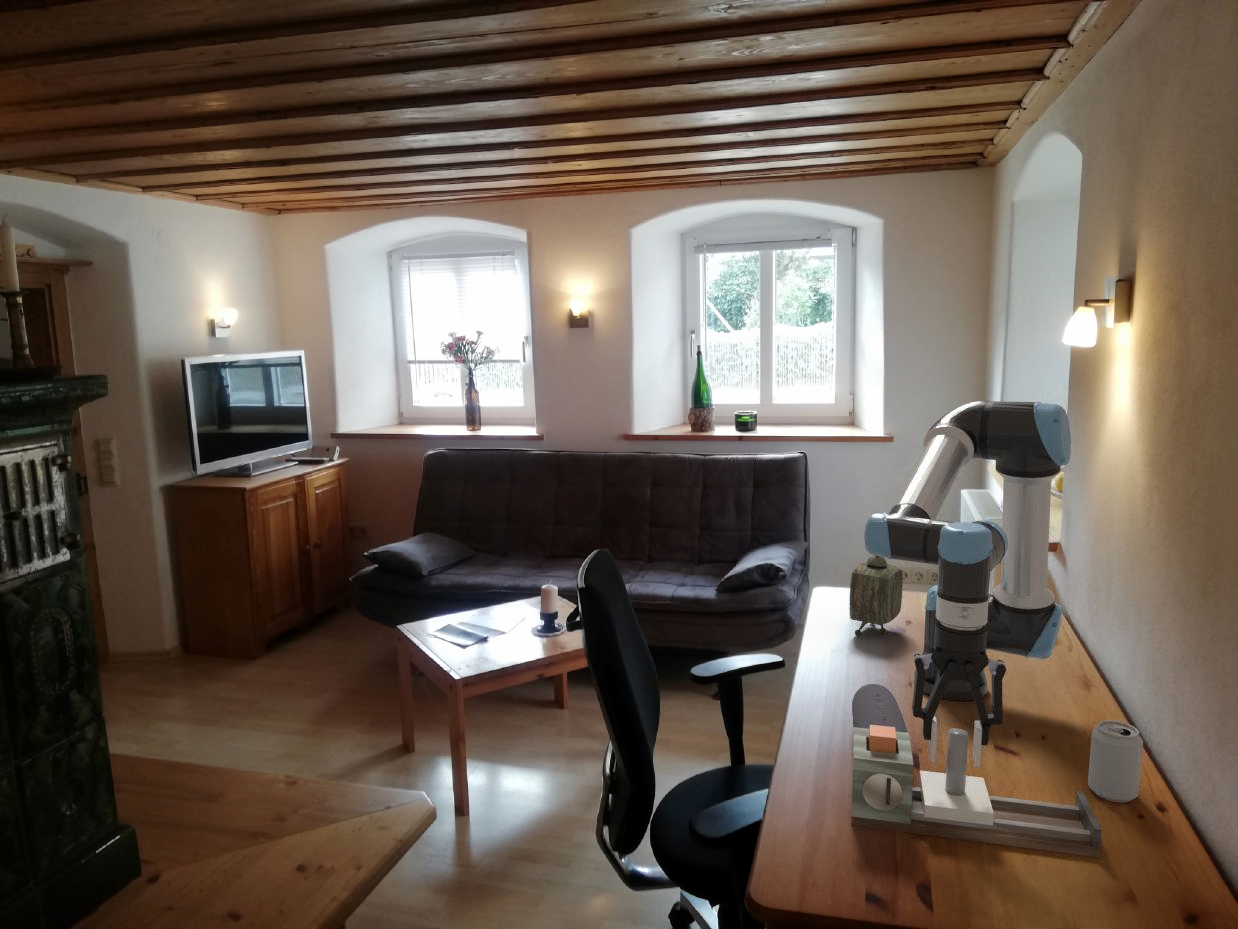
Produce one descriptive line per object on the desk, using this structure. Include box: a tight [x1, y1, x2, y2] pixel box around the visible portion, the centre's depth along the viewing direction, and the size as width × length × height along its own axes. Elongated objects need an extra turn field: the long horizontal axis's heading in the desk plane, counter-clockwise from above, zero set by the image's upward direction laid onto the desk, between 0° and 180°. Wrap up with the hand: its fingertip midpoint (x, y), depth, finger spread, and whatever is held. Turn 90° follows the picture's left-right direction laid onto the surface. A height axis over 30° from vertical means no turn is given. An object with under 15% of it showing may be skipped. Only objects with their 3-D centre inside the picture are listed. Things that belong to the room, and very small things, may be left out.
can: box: [1087, 719, 1144, 803], centre depth 148 cm, size 8×8×12 cm
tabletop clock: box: [849, 555, 904, 637], centre depth 225 cm, size 14×9×25 cm, turn 144°
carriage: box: [918, 728, 994, 825], centre depth 140 cm, size 11×10×12 cm
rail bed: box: [850, 727, 1103, 858], centre depth 139 cm, size 12×36×12 cm, turn 75°
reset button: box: [869, 725, 896, 754], centre depth 142 cm, size 4×4×3 cm
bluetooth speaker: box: [851, 683, 908, 733], centre depth 161 cm, size 23×9×10 cm, turn 170°
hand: (954, 759), depth 140 cm, fingers open, 6 cm apart
